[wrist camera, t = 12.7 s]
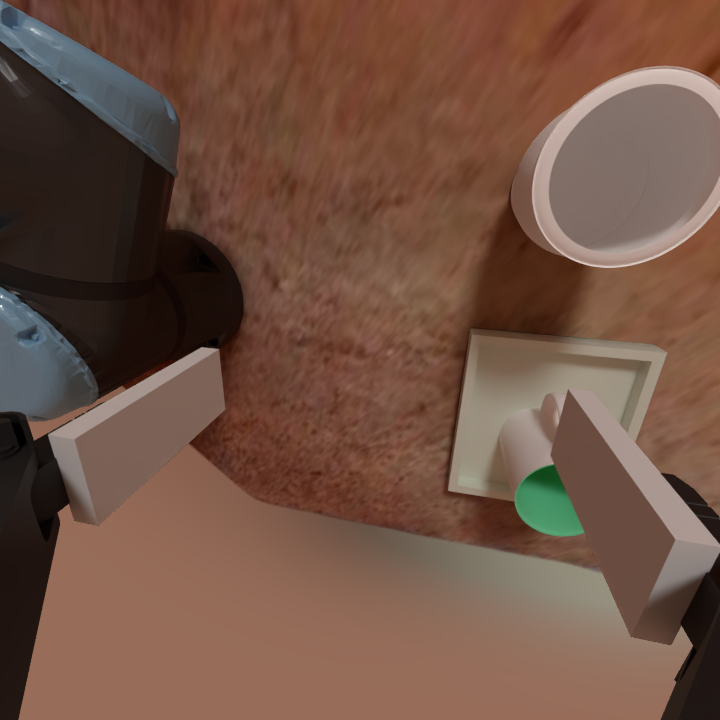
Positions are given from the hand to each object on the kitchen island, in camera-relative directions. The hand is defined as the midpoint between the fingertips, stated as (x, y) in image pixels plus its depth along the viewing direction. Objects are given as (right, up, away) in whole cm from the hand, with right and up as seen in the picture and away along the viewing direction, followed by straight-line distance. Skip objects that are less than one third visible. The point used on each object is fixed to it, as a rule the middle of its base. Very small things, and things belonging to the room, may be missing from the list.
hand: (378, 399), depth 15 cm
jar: (+18, +17, +21) cm, 33 cm away
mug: (+19, -6, +29) cm, 35 cm away
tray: (+20, -5, +29) cm, 36 cm away
